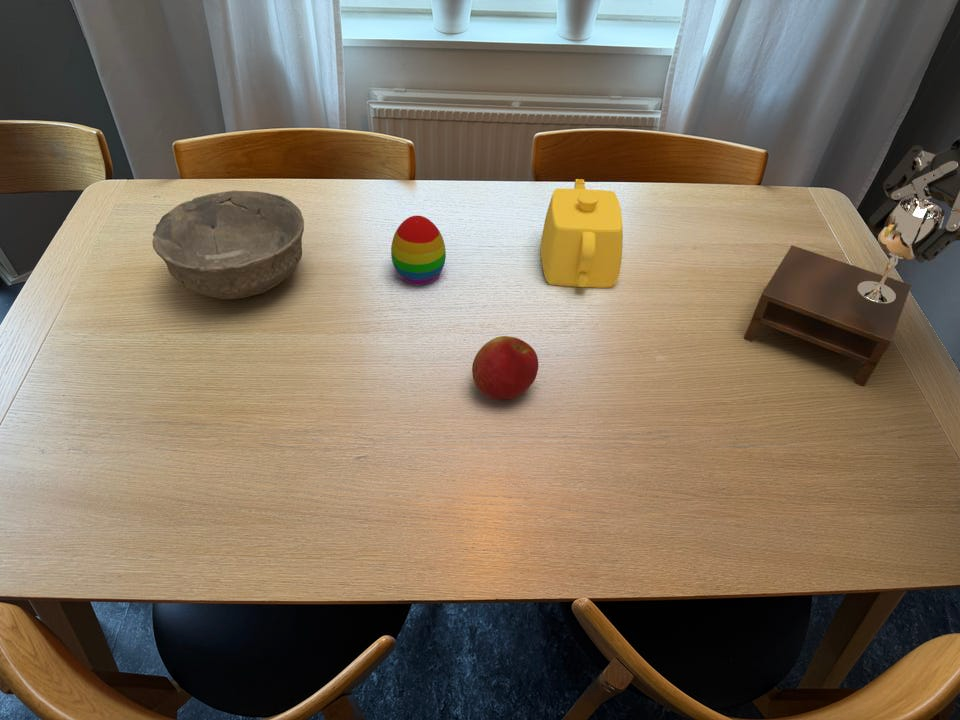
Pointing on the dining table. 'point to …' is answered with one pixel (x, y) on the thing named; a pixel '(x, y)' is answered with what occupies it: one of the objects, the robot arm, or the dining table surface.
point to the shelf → (830, 307)
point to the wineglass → (902, 240)
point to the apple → (505, 367)
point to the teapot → (582, 238)
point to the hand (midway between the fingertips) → (894, 243)
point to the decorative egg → (418, 250)
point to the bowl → (231, 242)
